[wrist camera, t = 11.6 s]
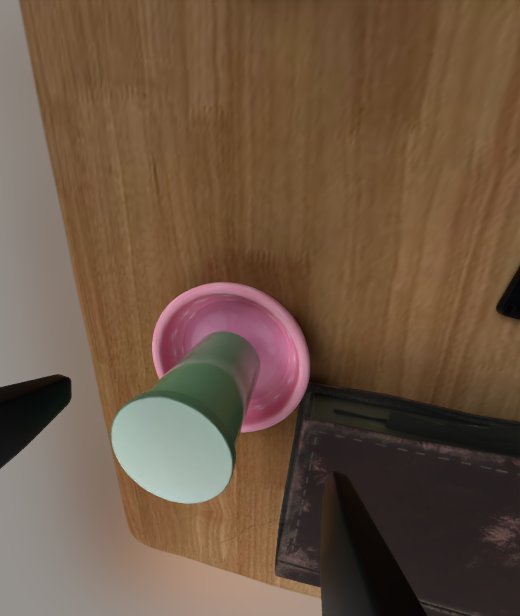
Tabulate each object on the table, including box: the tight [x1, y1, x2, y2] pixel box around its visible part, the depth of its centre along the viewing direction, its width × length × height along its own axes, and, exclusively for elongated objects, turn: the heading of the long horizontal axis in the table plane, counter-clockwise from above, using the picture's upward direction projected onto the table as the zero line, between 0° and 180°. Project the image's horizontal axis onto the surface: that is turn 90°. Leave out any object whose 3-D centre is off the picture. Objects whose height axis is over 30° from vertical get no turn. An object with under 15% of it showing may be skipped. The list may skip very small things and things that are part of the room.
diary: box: [275, 382, 520, 616], centre depth 19 cm, size 19×25×5 cm
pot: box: [111, 331, 261, 504], centre depth 14 cm, size 6×6×8 cm
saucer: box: [152, 282, 310, 432], centre depth 20 cm, size 12×12×3 cm
